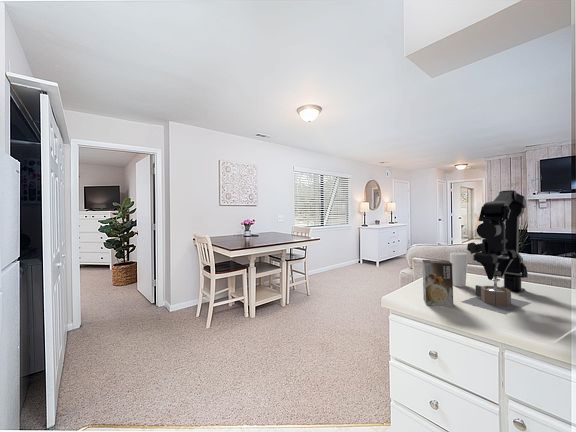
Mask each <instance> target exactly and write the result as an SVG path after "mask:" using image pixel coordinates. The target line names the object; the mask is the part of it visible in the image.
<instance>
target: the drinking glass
mask: <svg viewBox="0 0 576 432" xmlns="http://www.w3.org/2000/svg"><path fill="white" fill-rule="evenodd" d="M449 262H451V263H452V274H453V287H457V288H458V287H459V288H465V287H466V285H467V273H468V254H467V253H466V252H461V251H459V252H458V251H457V252H456V251H455V252H454V251H452V252H449Z"/></svg>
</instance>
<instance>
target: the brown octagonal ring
mask: <svg viewBox="0 0 576 432" xmlns="http://www.w3.org/2000/svg"><path fill="white" fill-rule="evenodd" d="M502 287H503V286H497V289H501V290H504V291H505V292H495V291H491V290H487V288H494V285H483V286H482V285H477V284H476V285H475V297H476V296H479V297H481V300H482V301H483V302H484V303H487V304H490V305H494V306H505V307H506V306H510V305H511V298H512V291H510V290H508V289H507V288H502Z"/></svg>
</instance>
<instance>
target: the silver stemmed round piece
mask: <svg viewBox="0 0 576 432" xmlns="http://www.w3.org/2000/svg"><path fill="white" fill-rule="evenodd" d="M499 276H501V271H498V270H496V272H495V275H494V277H493V279H492V280H491V281H493V286H494V288H487V290H491V291H495V292H505V291H504V290H501V289H497V287H498V282H500V281H501V279H500V278H498V277H499Z"/></svg>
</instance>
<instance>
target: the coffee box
mask: <svg viewBox="0 0 576 432" xmlns="http://www.w3.org/2000/svg"><path fill="white" fill-rule="evenodd" d="M422 291H423V293H422V294H423V301H424V303H425V305H426V306H433V307H434V306H435V307H450V308H454V286H453V274H452V263H451V262H450V260H441V259H422Z"/></svg>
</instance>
